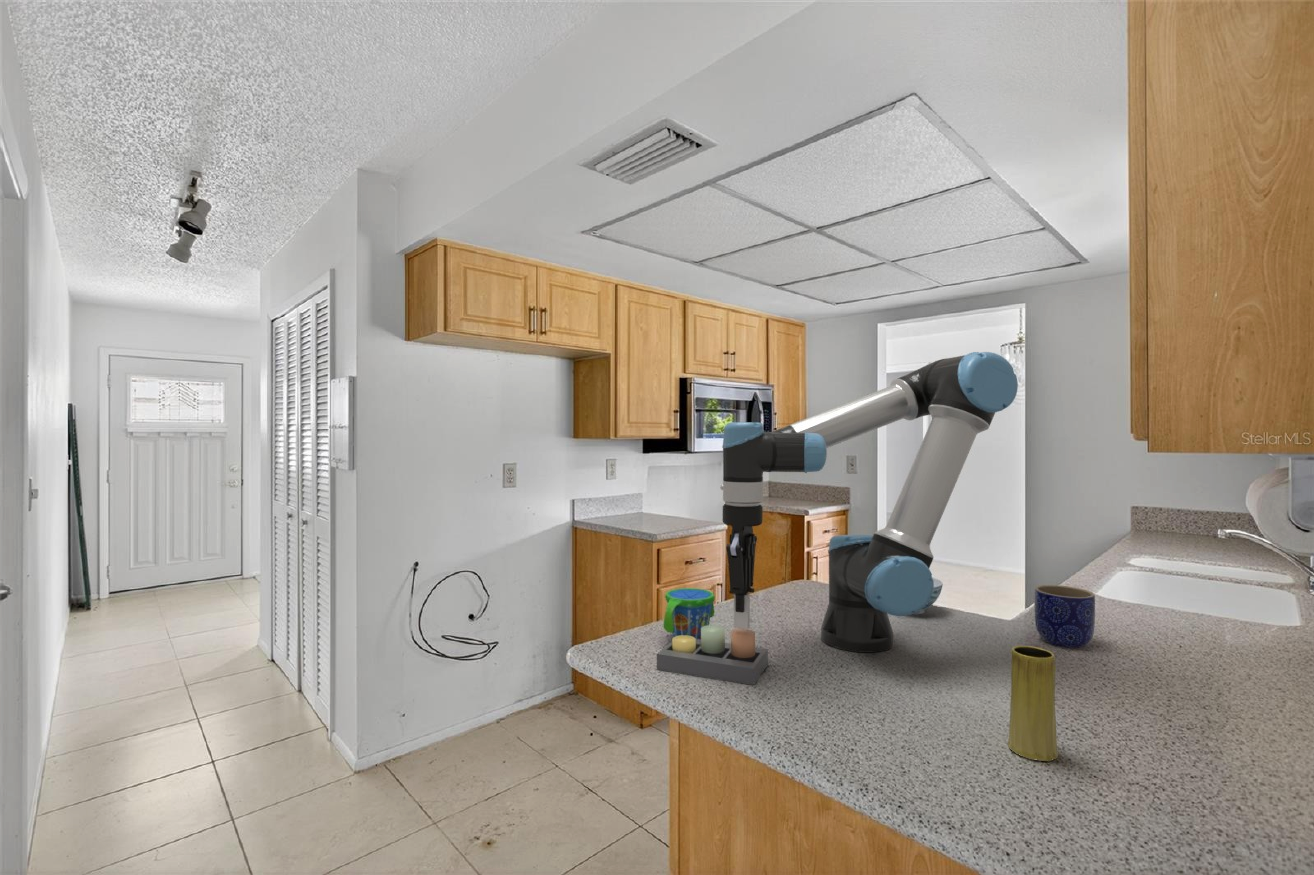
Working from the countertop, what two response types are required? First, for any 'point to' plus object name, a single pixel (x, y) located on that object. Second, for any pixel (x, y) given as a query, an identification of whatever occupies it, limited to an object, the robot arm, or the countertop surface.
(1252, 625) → the countertop surface
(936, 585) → the chinaware
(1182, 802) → the countertop surface
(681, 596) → the snack cup
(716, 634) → the button sage
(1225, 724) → the countertop surface
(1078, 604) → the planter
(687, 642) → the button mustard
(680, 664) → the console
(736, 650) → the button terracotta
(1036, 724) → the vase
